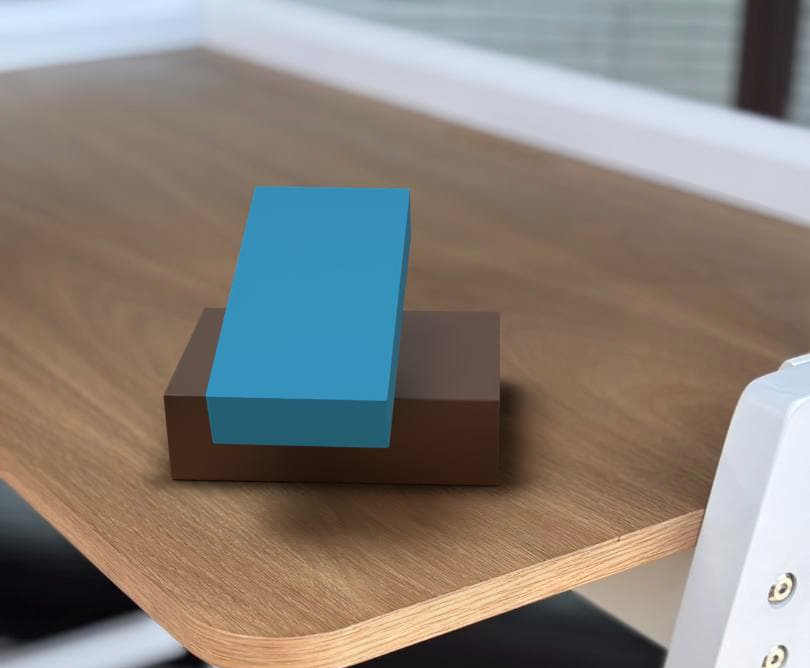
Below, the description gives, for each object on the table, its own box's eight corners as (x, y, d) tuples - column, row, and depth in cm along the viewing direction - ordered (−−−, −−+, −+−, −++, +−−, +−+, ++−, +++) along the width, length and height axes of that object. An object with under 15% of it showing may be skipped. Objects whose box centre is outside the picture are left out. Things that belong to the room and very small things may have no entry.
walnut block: (170, 479, 64) (162, 394, 62) (210, 384, 73) (204, 307, 71) (497, 486, 64) (499, 400, 62) (497, 389, 72) (500, 311, 70)
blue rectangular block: (392, 531, 61) (417, 270, 74) (387, 400, 56) (415, 143, 69) (225, 526, 62) (278, 267, 74) (205, 396, 56) (265, 141, 69)
